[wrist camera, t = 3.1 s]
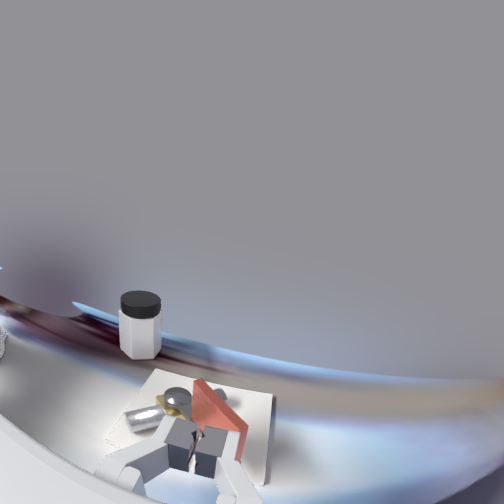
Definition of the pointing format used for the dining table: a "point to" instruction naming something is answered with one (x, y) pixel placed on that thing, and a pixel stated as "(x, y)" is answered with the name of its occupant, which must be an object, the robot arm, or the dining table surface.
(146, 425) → the valve body
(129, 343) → the jar
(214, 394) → the lever
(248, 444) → the mounting plate
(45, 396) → the dining table surface
